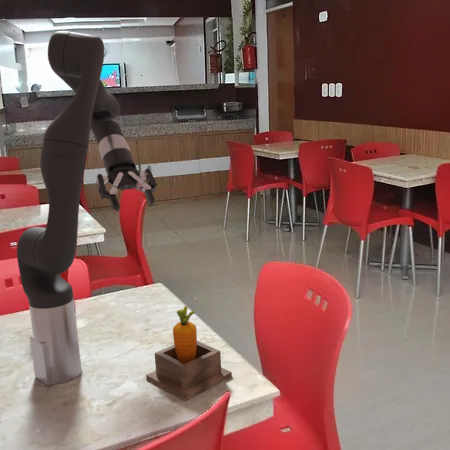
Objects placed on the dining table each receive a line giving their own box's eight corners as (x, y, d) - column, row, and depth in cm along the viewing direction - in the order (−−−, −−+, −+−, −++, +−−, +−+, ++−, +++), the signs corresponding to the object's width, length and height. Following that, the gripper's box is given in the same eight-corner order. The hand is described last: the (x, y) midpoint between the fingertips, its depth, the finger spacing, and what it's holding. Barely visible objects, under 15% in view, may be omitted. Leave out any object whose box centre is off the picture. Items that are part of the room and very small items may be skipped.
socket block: (185, 400, 108) (183, 373, 107) (146, 379, 118) (144, 353, 116) (231, 376, 117) (230, 350, 116) (192, 358, 126) (190, 333, 125)
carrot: (186, 366, 121) (181, 301, 117) (204, 371, 118) (199, 305, 115) (171, 375, 117) (166, 308, 114) (189, 381, 114) (184, 313, 111)
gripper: (90, 149, 135) (108, 202, 127) (145, 144, 141) (165, 194, 134) (87, 168, 140) (104, 220, 133) (140, 163, 147) (159, 211, 140)
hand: (135, 207), depth 133 cm, fingers open, 8 cm apart
